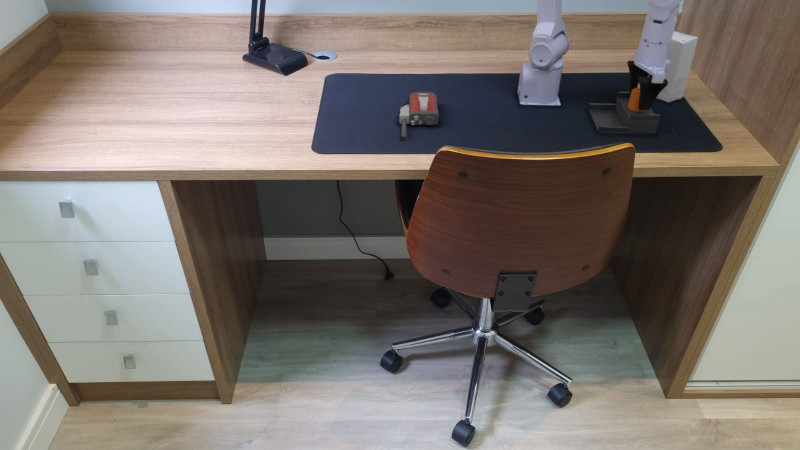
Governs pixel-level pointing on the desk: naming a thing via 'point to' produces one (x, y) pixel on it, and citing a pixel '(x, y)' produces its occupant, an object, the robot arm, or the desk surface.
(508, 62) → the desk surface
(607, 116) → the rack
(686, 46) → the cosmetic box
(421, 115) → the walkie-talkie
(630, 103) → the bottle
